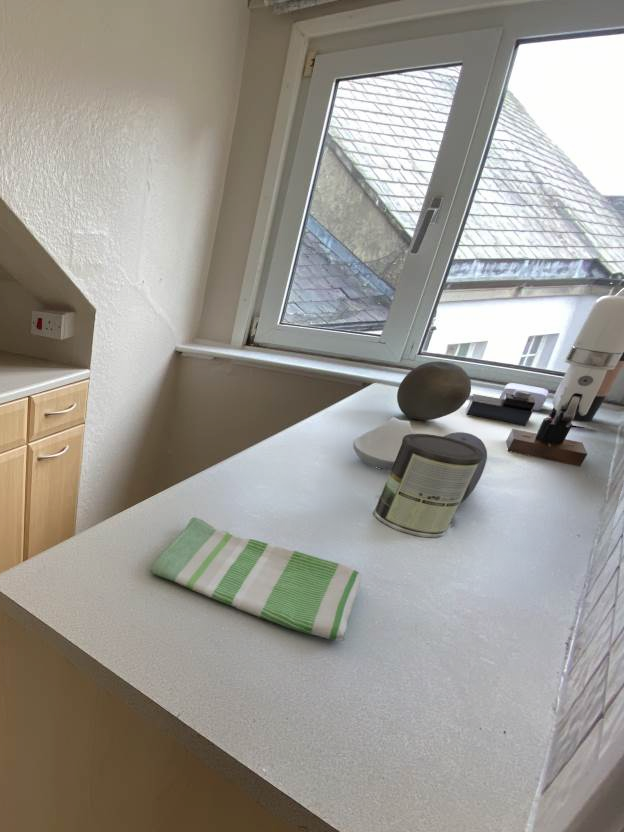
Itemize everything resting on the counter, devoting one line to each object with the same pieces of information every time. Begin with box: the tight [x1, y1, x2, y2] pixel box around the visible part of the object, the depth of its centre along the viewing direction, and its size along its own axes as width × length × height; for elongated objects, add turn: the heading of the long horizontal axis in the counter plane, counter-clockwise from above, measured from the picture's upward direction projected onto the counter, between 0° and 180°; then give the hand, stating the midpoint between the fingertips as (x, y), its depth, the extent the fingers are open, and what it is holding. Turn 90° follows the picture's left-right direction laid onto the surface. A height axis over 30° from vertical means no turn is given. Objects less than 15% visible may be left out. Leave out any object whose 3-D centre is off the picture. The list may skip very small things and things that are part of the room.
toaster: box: [465, 393, 535, 427], centre depth 145 cm, size 12×9×6 cm
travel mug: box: [571, 352, 624, 429], centre depth 139 cm, size 8×8×20 cm
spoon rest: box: [352, 417, 414, 471], centre depth 116 cm, size 24×12×7 cm, turn 140°
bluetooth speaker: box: [442, 431, 488, 504], centre depth 100 cm, size 23×9×10 cm, turn 134°
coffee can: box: [373, 433, 484, 538], centre depth 89 cm, size 10×10×14 cm
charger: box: [499, 382, 550, 411], centre depth 159 cm, size 5×9×15 cm
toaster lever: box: [512, 390, 530, 400], centre depth 142 cm, size 3×3×2 cm
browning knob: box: [535, 417, 573, 444], centre depth 121 cm, size 4×2×5 cm, turn 50°
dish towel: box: [149, 516, 362, 642], centre depth 75 cm, size 18×23×3 cm
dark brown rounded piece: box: [396, 360, 472, 421], centre depth 138 cm, size 14×14×15 cm
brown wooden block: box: [506, 428, 588, 468], centre depth 123 cm, size 12×9×3 cm
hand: (549, 438), depth 122 cm, fingers open, 4 cm apart
